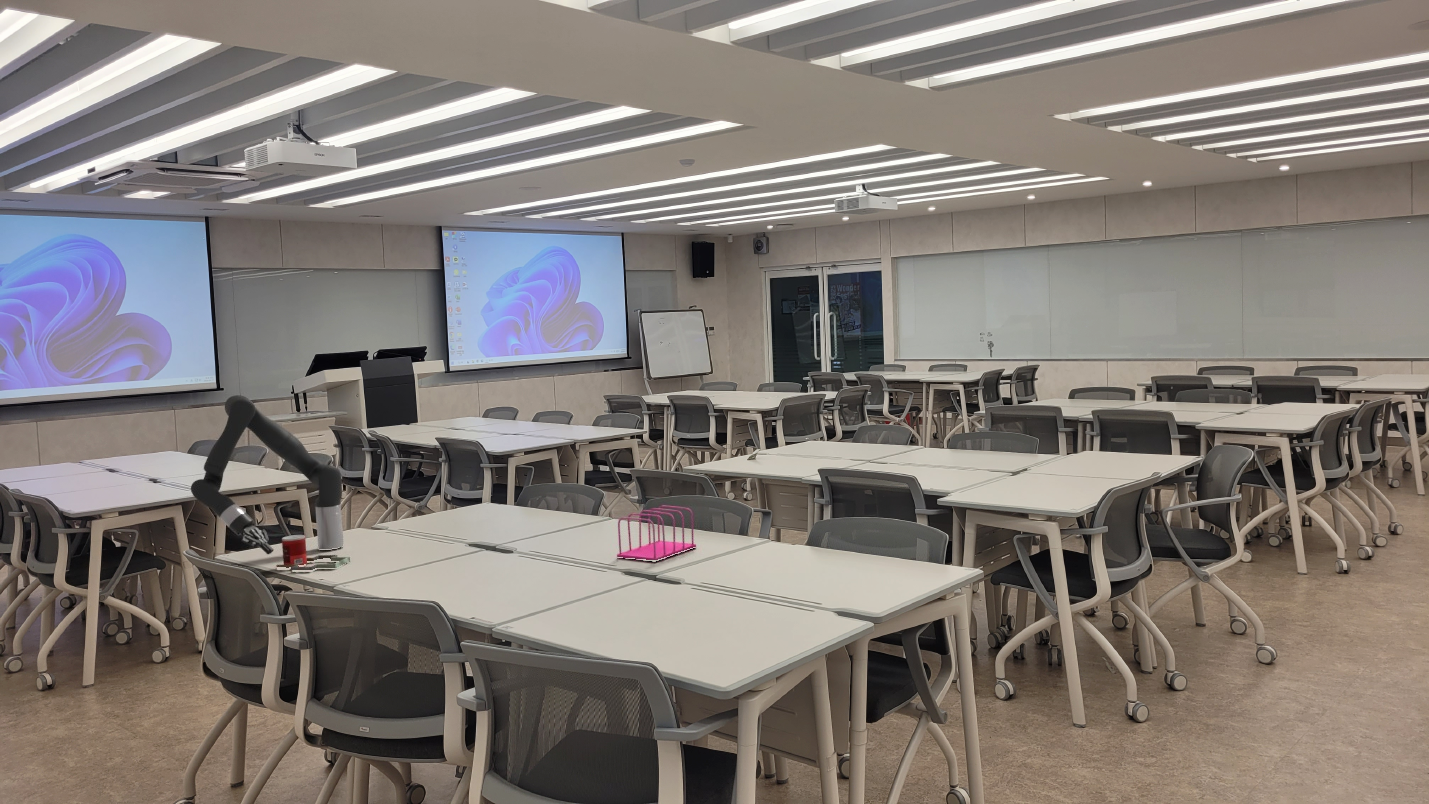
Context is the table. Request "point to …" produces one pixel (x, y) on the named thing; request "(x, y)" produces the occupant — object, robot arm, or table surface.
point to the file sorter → (656, 548)
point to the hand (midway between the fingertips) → (271, 552)
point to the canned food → (294, 550)
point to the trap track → (333, 558)
